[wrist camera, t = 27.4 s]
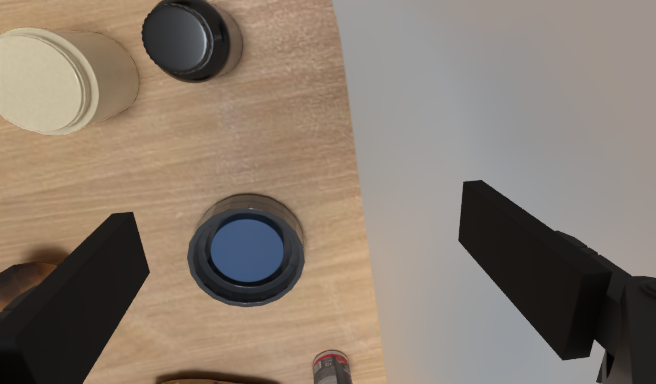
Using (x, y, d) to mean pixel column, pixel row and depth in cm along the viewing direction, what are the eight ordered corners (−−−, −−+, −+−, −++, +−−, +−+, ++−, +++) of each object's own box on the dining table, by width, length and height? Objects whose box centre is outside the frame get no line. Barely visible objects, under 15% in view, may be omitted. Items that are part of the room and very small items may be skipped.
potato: (93, 304, 52) (25, 337, 47) (51, 231, 44) (-35, 263, 40) (108, 341, 47) (34, 381, 43) (64, 266, 39) (-32, 307, 35)
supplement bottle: (226, -6, 37) (199, -28, 26) (253, 63, 39) (240, 70, 28) (162, 18, 37) (107, 7, 26) (193, 85, 39) (156, 101, 28)
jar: (127, 28, 37) (70, 23, 27) (147, 113, 40) (102, 135, 30) (39, 33, 36) (-52, 29, 27) (66, 119, 39) (-6, 143, 30)
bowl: (298, 188, 45) (299, 203, 41) (306, 279, 50) (308, 300, 46) (187, 198, 44) (176, 214, 40) (207, 289, 49) (199, 312, 45)
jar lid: (202, 223, 45) (198, 230, 43) (271, 203, 45) (270, 210, 43) (227, 280, 48) (225, 289, 46) (292, 262, 48) (292, 271, 46)
